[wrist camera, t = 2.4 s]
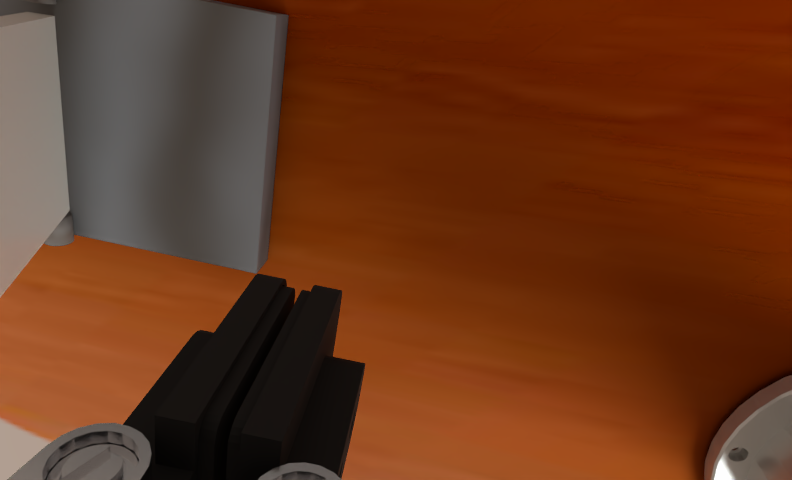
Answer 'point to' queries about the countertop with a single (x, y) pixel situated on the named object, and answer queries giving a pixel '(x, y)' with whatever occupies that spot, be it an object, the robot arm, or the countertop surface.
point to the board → (169, 124)
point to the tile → (29, 140)
